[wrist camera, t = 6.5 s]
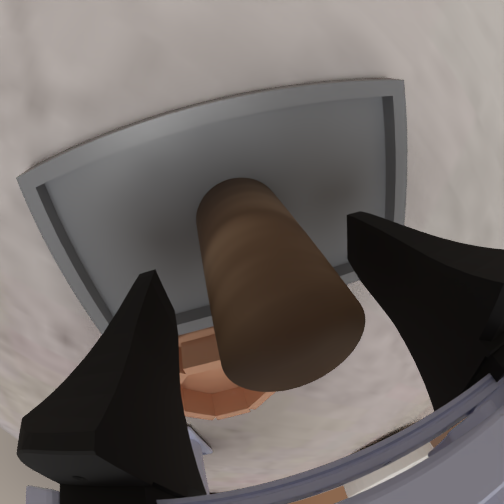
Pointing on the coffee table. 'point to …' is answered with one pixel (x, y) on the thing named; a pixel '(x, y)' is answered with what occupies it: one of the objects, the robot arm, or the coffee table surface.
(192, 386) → the terracotta cup
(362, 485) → the bowl
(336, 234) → the charcoal tray
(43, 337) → the coffee table surface
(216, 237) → the walnut peg
